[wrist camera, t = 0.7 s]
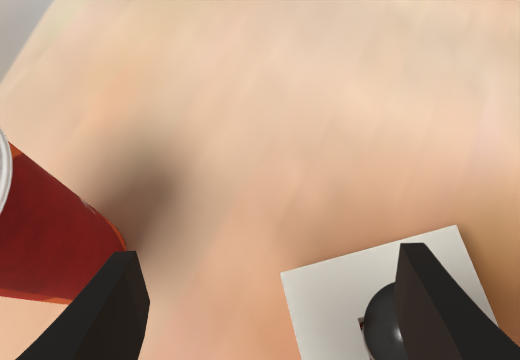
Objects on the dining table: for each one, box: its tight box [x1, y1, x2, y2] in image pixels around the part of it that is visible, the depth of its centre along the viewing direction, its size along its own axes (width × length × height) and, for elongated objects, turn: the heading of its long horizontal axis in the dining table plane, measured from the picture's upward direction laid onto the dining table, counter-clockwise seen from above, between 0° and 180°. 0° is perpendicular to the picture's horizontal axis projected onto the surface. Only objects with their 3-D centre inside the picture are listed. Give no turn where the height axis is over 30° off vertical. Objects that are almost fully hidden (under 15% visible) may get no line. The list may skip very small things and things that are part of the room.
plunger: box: [362, 282, 408, 360], centre depth 21 cm, size 4×4×7 cm
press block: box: [280, 225, 499, 360], centre depth 26 cm, size 10×10×3 cm
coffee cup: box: [0, 128, 126, 305], centre depth 26 cm, size 8×8×15 cm
